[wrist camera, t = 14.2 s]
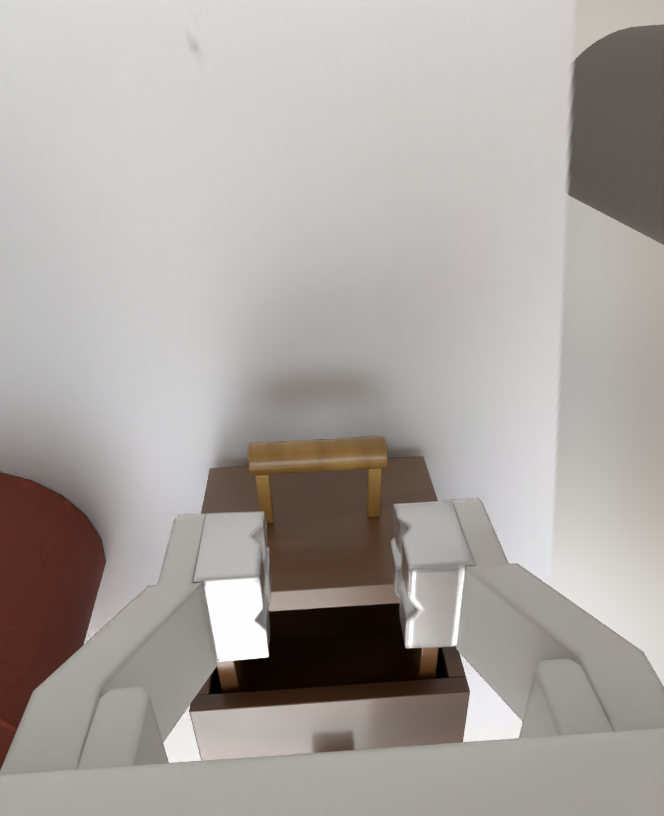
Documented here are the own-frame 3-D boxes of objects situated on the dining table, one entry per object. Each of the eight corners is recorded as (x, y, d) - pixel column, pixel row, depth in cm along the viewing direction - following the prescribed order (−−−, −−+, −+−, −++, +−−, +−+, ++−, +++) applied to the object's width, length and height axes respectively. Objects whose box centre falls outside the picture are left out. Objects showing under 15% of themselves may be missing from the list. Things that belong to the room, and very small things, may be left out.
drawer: (198, 398, 30) (166, 517, 22) (427, 387, 30) (473, 499, 23) (237, 637, 39) (224, 779, 31) (413, 626, 39) (442, 763, 32)
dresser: (214, 544, 36) (188, 711, 27) (425, 531, 36) (470, 691, 27) (240, 695, 43) (227, 867, 34) (415, 683, 44) (447, 849, 35)
